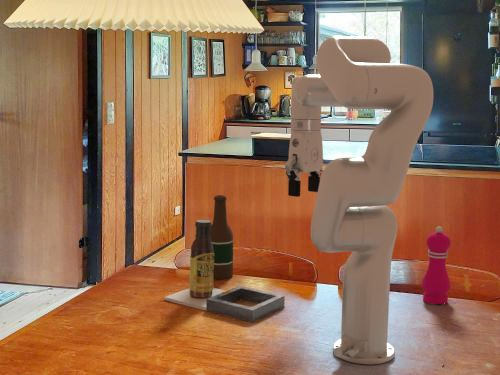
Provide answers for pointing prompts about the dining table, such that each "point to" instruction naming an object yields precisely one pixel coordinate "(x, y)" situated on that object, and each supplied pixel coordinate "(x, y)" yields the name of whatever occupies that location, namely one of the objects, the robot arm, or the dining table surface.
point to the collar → (251, 314)
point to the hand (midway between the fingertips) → (304, 193)
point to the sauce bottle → (201, 262)
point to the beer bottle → (221, 240)
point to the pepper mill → (436, 269)
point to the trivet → (191, 298)
